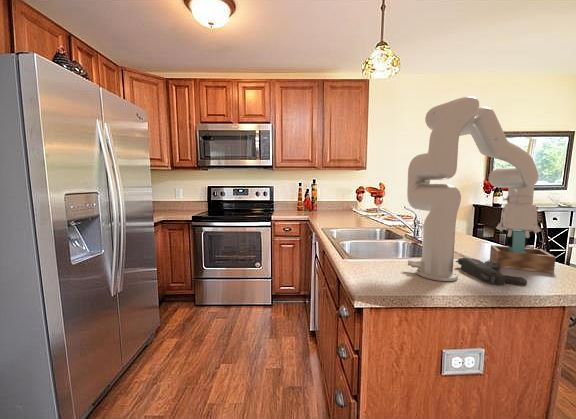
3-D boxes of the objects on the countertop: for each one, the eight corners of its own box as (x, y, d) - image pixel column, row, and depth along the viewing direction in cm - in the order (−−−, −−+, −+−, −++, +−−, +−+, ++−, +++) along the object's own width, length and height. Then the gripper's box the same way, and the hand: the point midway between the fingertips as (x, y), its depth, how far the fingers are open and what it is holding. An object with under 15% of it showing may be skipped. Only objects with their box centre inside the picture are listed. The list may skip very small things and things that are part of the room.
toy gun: (494, 258, 102) (454, 253, 103) (538, 277, 83) (488, 272, 84) (492, 270, 103) (452, 265, 104) (534, 292, 84) (485, 287, 85)
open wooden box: (497, 266, 103) (498, 251, 103) (489, 259, 114) (490, 245, 114) (553, 273, 96) (555, 256, 95) (540, 264, 107) (541, 249, 106)
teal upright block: (514, 255, 102) (516, 232, 101) (508, 251, 110) (509, 229, 109) (526, 256, 100) (528, 233, 100) (518, 252, 108) (520, 229, 108)
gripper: (495, 200, 105) (492, 246, 106) (552, 201, 97) (548, 251, 99) (491, 199, 111) (488, 243, 113) (544, 200, 104) (540, 246, 106)
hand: (516, 246), depth 106 cm, fingers closed on teal upright block, 3 cm apart
